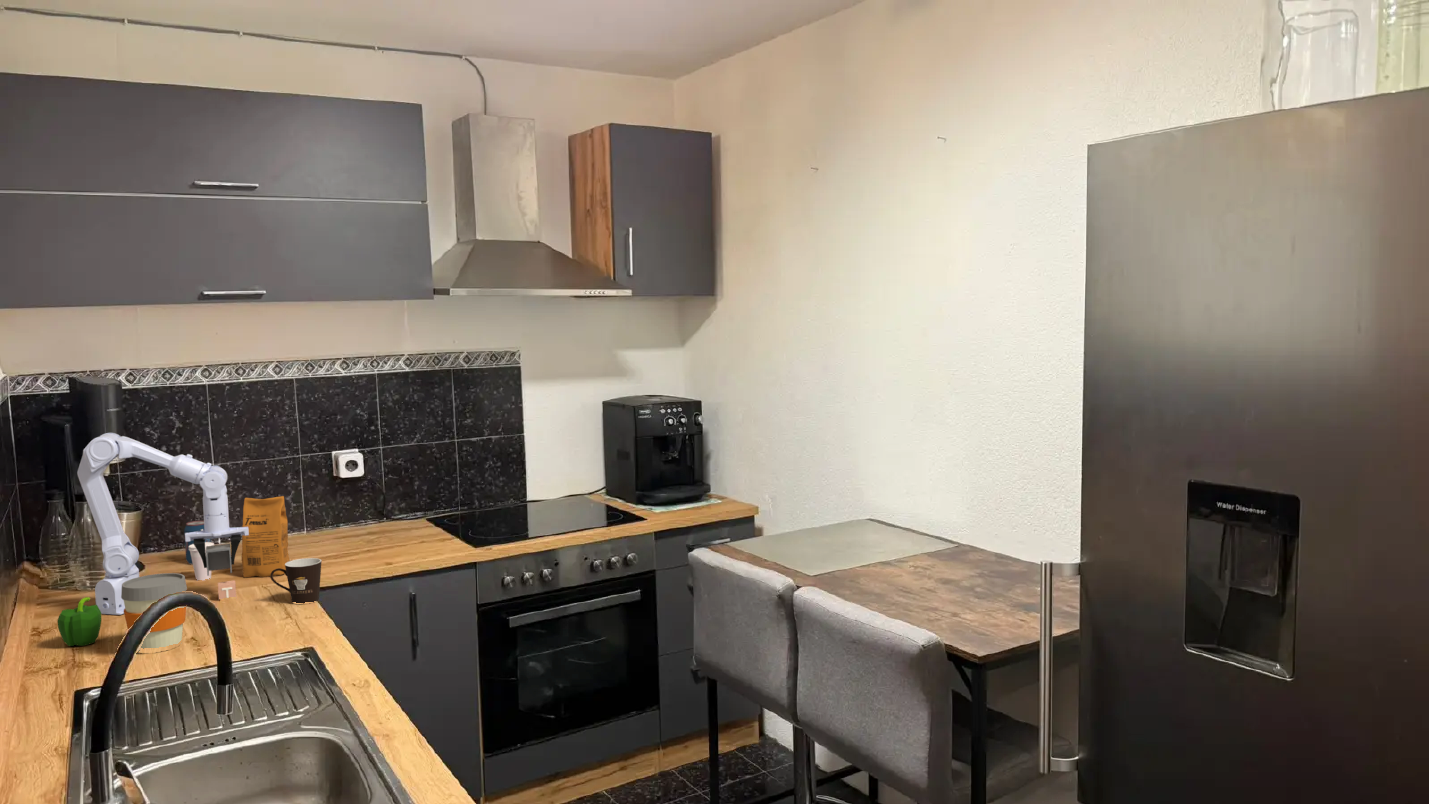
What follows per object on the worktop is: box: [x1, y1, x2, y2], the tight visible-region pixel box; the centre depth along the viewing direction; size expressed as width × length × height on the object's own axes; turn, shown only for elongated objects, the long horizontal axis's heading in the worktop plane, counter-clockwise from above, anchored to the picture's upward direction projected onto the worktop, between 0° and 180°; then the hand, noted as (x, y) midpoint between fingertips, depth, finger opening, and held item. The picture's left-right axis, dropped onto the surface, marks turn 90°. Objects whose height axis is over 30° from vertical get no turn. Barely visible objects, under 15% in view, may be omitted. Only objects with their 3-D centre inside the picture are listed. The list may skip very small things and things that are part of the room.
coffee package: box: [241, 495, 291, 579], centre depth 269 cm, size 10×12×22 cm
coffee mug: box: [270, 557, 322, 603], centre depth 243 cm, size 12×9×10 cm
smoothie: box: [188, 529, 215, 581], centre depth 265 cm, size 6×6×14 cm
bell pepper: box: [56, 596, 102, 647], centre depth 213 cm, size 8×8×10 cm
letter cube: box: [217, 580, 237, 600], centre depth 246 cm, size 4×4×4 cm
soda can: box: [183, 520, 212, 565], centre depth 284 cm, size 7×7×12 cm
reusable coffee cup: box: [121, 572, 188, 652], centre depth 210 cm, size 13×13×15 cm
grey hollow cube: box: [206, 543, 233, 576], centre depth 246 cm, size 6×6×6 cm
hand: (219, 565), depth 246 cm, fingers closed on grey hollow cube, 6 cm apart
